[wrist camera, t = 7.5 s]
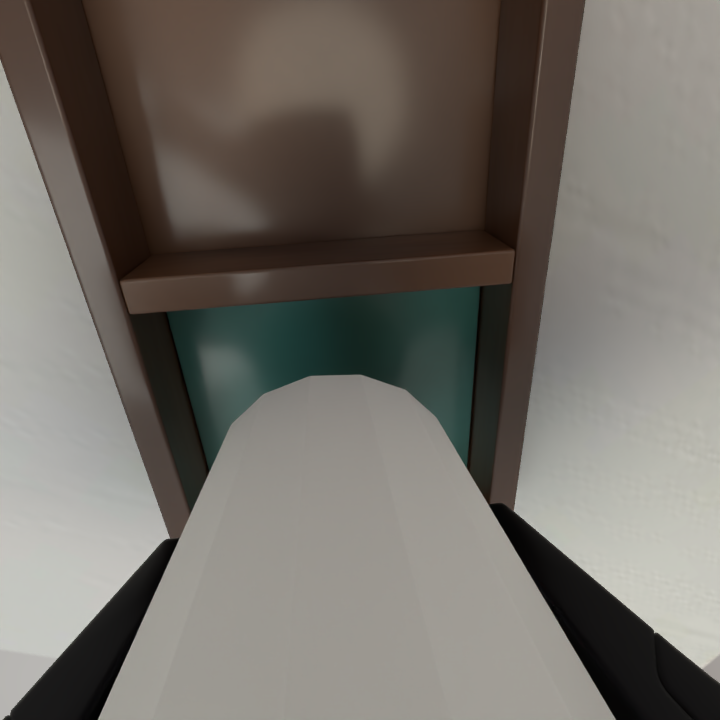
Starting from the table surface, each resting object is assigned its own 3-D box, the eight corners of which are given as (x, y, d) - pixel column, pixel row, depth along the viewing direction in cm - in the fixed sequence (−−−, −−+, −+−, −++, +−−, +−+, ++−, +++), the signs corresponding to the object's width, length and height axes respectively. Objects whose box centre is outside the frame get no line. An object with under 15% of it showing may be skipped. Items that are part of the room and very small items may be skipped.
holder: (208, 525, 17) (189, 596, 14) (-37, -307, 8) (-208, -518, 5) (479, 497, 17) (507, 560, 15) (553, -314, 8) (660, -511, 6)
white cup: (481, 542, 13) (639, 942, 6) (240, 589, 13) (168, 1032, 6) (464, 318, 9) (750, 690, 3) (141, 382, 9) (-187, 872, 3)
